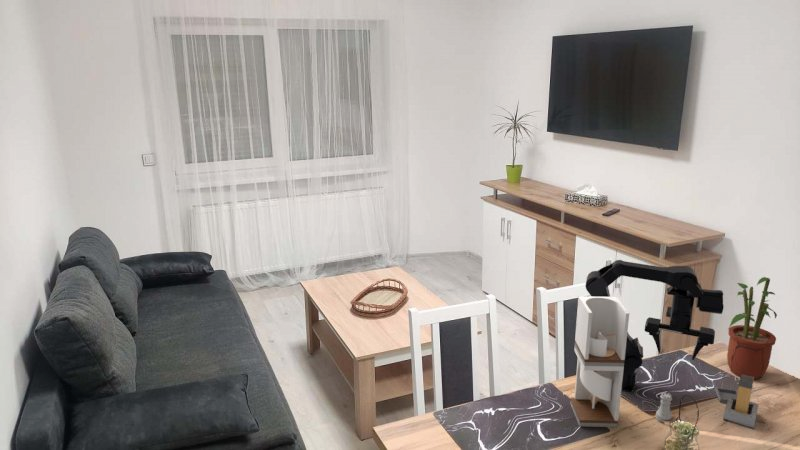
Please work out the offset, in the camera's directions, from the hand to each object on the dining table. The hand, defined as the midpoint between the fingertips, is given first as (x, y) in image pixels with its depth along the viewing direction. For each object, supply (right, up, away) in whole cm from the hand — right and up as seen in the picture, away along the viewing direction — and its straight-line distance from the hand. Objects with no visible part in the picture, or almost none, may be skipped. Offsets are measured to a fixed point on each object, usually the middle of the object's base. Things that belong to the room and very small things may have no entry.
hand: (675, 355), depth 174 cm
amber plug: (+13, -15, -11) cm, 23 cm away
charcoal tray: (+16, -13, -1) cm, 21 cm away
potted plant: (+28, -9, +15) cm, 33 cm away
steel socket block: (+13, -16, -10) cm, 23 cm away
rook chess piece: (-8, -16, -9) cm, 20 cm away
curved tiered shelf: (-28, -16, -7) cm, 33 cm away
